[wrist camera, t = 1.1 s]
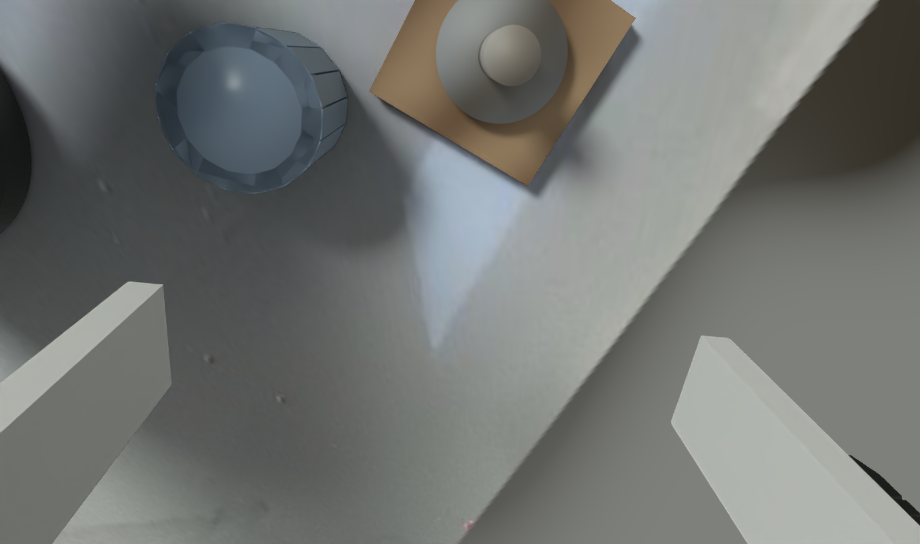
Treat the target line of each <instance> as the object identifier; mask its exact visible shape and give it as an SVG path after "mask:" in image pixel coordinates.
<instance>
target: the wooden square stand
mask: <svg viewBox="0 0 920 544" xmlns="http://www.w3.org/2000/svg"><path fill="white" fill-rule="evenodd" d="M635 19H636V18H635V17H633V16H632V15H631V14H629V13H628V12H626V11H625V10H623V9H622V8H621V7H619V6H618V5H616V4H615V3H614V2H612V1H611V0H415V2H414V4H413V6H412V8H411V10H410V12H409V14H408V16H407V18H406V20H405V22H404V24H403V26H402V28H401V30H400V32H399V34H398V36H397V38H396V40H395V41H394V43H393V45H392V47H391V49H390V51H389V53H388V55H387V57H386V59H385V61H384V63H383V65H382V67H381V69H380V71H379V73H378V75H377V77H376V79H375V81H374V83H373V85H372V87H371V89H370V91H369V92H371V93H372V94H374V95H376V96H377V97H379V98H381V99H382V100H384V101H386V102H387V103H389V104H391V105H392V106H394V107H396V108H397V109H399V110H401V111H403V112H404V113H406V114H408V115H409V116H411V117H413V118H414V119H416V120H418V121H419V122H421V123H423V124H424V125H426V126H428V127H429V128H431V129H433V130H434V131H436V132H438V133H439V134H441V135H443V136H444V137H446V138H448V139H449V140H451V141H453V142H455V143H456V144H458V145H460V146H461V147H463V148H465V149H466V150H468V151H470V152H471V153H473V154H475V155H476V156H478V157H480V158H481V159H483V160H485V161H486V162H488V163H490V164H491V165H493V166H495V167H496V168H498V169H500V170H501V171H503V172H505V173H507V174H508V175H510V176H512V177H513V178H515V179H517V180H518V181H520V182H522V183H523V184H525V185H527V186H528V185H529V183H530V182H531V180H532V179H533V177H534V176H535V174H536V173H537V171H538V169H539V168H540V166H541V165H542V163H543V162H544V160H545V159H546V157H547V155H548V154H549V152H550V151H551V149H552V148H553V146H554V145H555V143H556V141H557V140H558V138H559V137H560V135H561V134H562V132H563V131H564V129H565V127H566V126H567V124H568V123H569V121H570V120H571V118H572V117H573V115H574V113H575V112H576V110H577V109H578V107H579V106H580V104H581V103H582V101H583V99H584V98H585V96H586V95H587V93H588V92H589V90H590V89H591V87H592V85H593V84H594V82H595V81H596V79H597V78H598V76H599V75H600V73H601V71H602V70H603V68H604V67H605V65H606V64H607V62H608V61H609V59H610V57H611V56H612V54H613V53H614V51H615V50H616V48H617V47H618V45H619V43H620V42H621V40H622V39H623V37H624V36H625V34H626V33H627V31H628V29H629V28H630V26H631V25H632V23H633V22H634V20H635Z"/></svg>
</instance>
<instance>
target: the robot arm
mask: <svg viewBox="0 0 920 544" xmlns="http://www.w3.org/2000/svg"><path fill="white" fill-rule="evenodd" d="M30 169H31V156H30V146H29V140H28V135H27V131H26V127H25V123H24V120H23V117H22V114H21V112H20V109H19V107H18V104H17V102H16V100H15V98H14V96H13V94H12V92H11V90H10V88H9V86H8V84H7V83H6V81H5V79H4V78H3V76H2V75H1V73H0V233H1V232H2V231H3V230H4V229H5V228H6V227H7V226H8V225H9V224H10V223H11V222H12V220H13V219H14V218H15V216H16V215H17V213H18V211H19V210H20V208H21V206H22V204H23V202H24V199H25V196H26V193H27V189H28V185H29V179H30ZM171 385H172V380H171V369H170V357H169V346H168V334H167V323H166V311H165V300H164V289H163V285H161V284H151V283H140V282H129V281H128V282H127V283H126V284H124V285H123V286H122V287H121V288H119V289H118V290H117V291H115V292H114V293H113V294H112V295H110V296H109V297H108V298H107V299H105V300H104V301H103V302H102V303H100V304H99V305H98V306H97V307H95V308H94V309H93V310H92V311H90V312H89V313H88V314H86V315H85V316H84V317H83V318H81V319H80V320H79V321H78V322H76V323H75V324H74V325H73V326H71V327H70V328H69V329H68V330H66V331H65V332H64V333H63V334H61V335H60V336H59V337H58V338H56V339H55V340H54V341H52V342H51V343H50V344H49V345H47V346H46V347H45V348H44V349H42V350H41V351H40V352H39V353H37V354H36V355H35V356H34V357H32V358H31V359H30V360H29V361H27V362H26V363H25V364H23V365H22V366H21V367H20V368H18V369H17V370H16V371H15V372H13V373H12V374H11V375H10V376H8V377H7V378H6V379H5V380H3V381H2V382H1V383H0V544H52V543H53V542H54V541H55V539H56V538H57V537H58V535H59V534H60V533H61V531H62V530H63V529H64V527H65V526H66V525H67V523H68V522H69V521H70V519H71V518H72V517H73V515H74V514H75V513H76V511H77V510H78V509H79V507H80V506H81V505H82V503H83V502H84V501H85V499H86V498H87V497H88V495H89V494H90V493H91V491H92V490H93V489H94V487H95V486H96V485H97V483H98V482H99V481H100V479H101V478H102V477H103V475H104V474H105V473H106V471H107V470H108V469H109V467H110V466H111V465H112V463H113V462H114V461H115V459H116V458H117V457H118V455H119V454H120V453H121V451H122V450H123V449H124V447H125V446H126V445H127V443H128V442H129V441H130V439H131V438H132V437H133V436H134V434H135V433H136V432H137V430H138V429H139V428H140V426H141V425H142V424H143V422H144V421H145V420H146V418H147V417H148V416H149V414H150V413H151V412H152V410H153V409H154V408H155V406H156V405H157V404H158V402H159V401H160V400H161V398H162V397H163V396H164V394H165V393H166V392H167V390H168V389H169V388H170V386H171ZM671 424H672V426H673V427H674V429H675V430H676V432H677V434H678V435H679V437H680V438H681V440H682V442H683V443H684V445H685V446H686V448H687V449H688V451H689V453H690V454H691V455H692V457H693V459H694V460H695V462H696V463H697V465H698V467H699V468H700V470H701V471H702V473H703V475H704V476H705V478H706V479H707V481H708V482H709V484H710V486H711V487H712V489H713V490H714V492H715V493H716V495H717V497H718V498H719V500H720V501H721V503H722V504H723V506H724V508H725V509H726V511H727V512H728V514H729V516H730V517H731V519H732V520H733V522H734V523H735V525H736V527H737V528H738V529H739V531H740V533H741V534H742V536H743V537H744V539H745V541H746V542H747V544H920V513H919V512H918V511H917V510H916V509H915V508H914V507H913V506H912V505H911V504H910V503H909V502H907V501H906V500H902V496H901V495H900V494H899V493H898V492H897V491H896V490H895V489H894V488H893V487H892V486H891V485H890V484H889V483H888V482H887V481H886V480H885V479H884V478H883V477H881V476H880V475H879V474H878V473H876V472H875V471H873V470H872V469H870V468H869V467H867V466H866V465H864V464H863V463H862V462H860V461H859V460H857V459H855V458H854V457H853V456H851V455H847V454H846V453H845V452H844V451H843V450H842V449H841V448H840V447H839V446H838V445H837V444H836V443H835V442H834V441H833V440H832V439H831V438H830V437H829V436H828V435H827V434H826V433H825V432H824V431H823V430H822V429H821V428H820V427H819V426H818V425H817V424H816V423H815V422H814V421H813V420H812V419H811V418H810V417H809V416H808V415H807V414H806V413H805V412H804V411H803V410H802V409H801V408H800V407H799V406H797V404H796V403H795V402H794V401H793V400H792V399H791V398H789V397H788V396H787V395H786V394H785V393H784V392H783V391H782V390H781V389H780V388H779V387H778V386H777V385H776V384H775V383H774V382H773V381H772V380H771V379H770V378H769V377H768V376H767V375H766V374H765V373H764V372H763V371H762V370H761V369H760V368H759V367H758V366H757V365H756V364H755V363H754V362H753V361H752V360H751V359H750V358H749V357H748V356H747V355H746V354H745V353H744V352H743V351H742V350H741V349H740V348H738V346H737V345H736V344H734V342H733V341H731V339H729V338H721V337H710V336H701V338H700V340H699V343H698V347H697V349H696V352H695V355H694V358H693V360H692V363H691V366H690V369H689V372H688V375H687V378H686V380H685V383H684V386H683V389H682V392H681V395H680V398H679V401H678V404H677V406H676V409H675V412H674V415H673V418H672V420H671Z"/></svg>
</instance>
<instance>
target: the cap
mask: <svg viewBox="0 0 920 544" xmlns="http://www.w3.org/2000/svg"><path fill="white" fill-rule="evenodd" d="M338 70H339V69H338V68H337V67H336V66H335V64H334V63H333V62H332V61H331V59H330V58H329V57H328V55H327V54H326V53H325V52H324V50H323V49H322V48H320V47H319V46H318V45H316V44H314V43H313V42H311V41H309V40H308V39H306V38H305V37H303V36H301V35H300V34H298V33H295V32H288V31H282V30H275V29H268V28H261V27H254V26H247V25H240V24H233V23H226V22H219V23H216V24H212V25H209V26H205V27H202V28H198V29H195V30H192V31H191V32H188V33H187V34H186V35H185V36H184V37H183V38H182V39H181V40H179V41H178V42H177V43H176V44H175V45H174V46H173V47H172V48H171V49H170V50H169V51H168V52H167V54H165V57H164V60H163V63H162V65H161V68H160V71H159V74H158V76H157V79H156V82H155V83H156V84H157V85H155V95H156V111H157V117H159V119H158V121H159V123H160V126H161V128H162V130H163V132H164V134H165V137H166V139H167V141H168V143H169V145H170V148H171V149H172V148H173V150H172V151H173V152H174V153H175V154H176V155H177V156H178V157H179V158H180V159H181V160H182V161H183V162H184V163H185V164H186V165H187V166H188V168H189V169H190V170H191V171H192V172H193V173H194V174H197V176H199V177H201V178H203V179H205V180H206V181H208V182H210V183H212V184H214V185H216V186H218V187H220V188H222V189H226V190H228V191H235V192H243V193H251V194H256V193H257V194H259V193H263V192H267V191H270V190H274V189H278V188H282V187H285V186H286V185H288V184H289V183H290V182H291V181H293V180H294V179H295V178H296V177H298V176H299V175H300V174H301V173H302V172H304V171H305V170H306V169H307V168H309V167H310V166H311V165H312V164H313V163H315V162H316V161H317V160H318V159H319V158H321V157H322V156H323V155H324V154H325V153H327V152H328V151H329V150H330V149H331V148H333V147H334V145H336V143H337V141H338V139H339V137H340V135H341V133H342V131H343V129H344V127H345V125H346V124H345V123H346V117H347V101H348V98H345V97H347V93H346V90H345V87H344V84H343V81H342V78H341V74H340V71H338ZM336 71H338V72H336Z"/></svg>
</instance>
